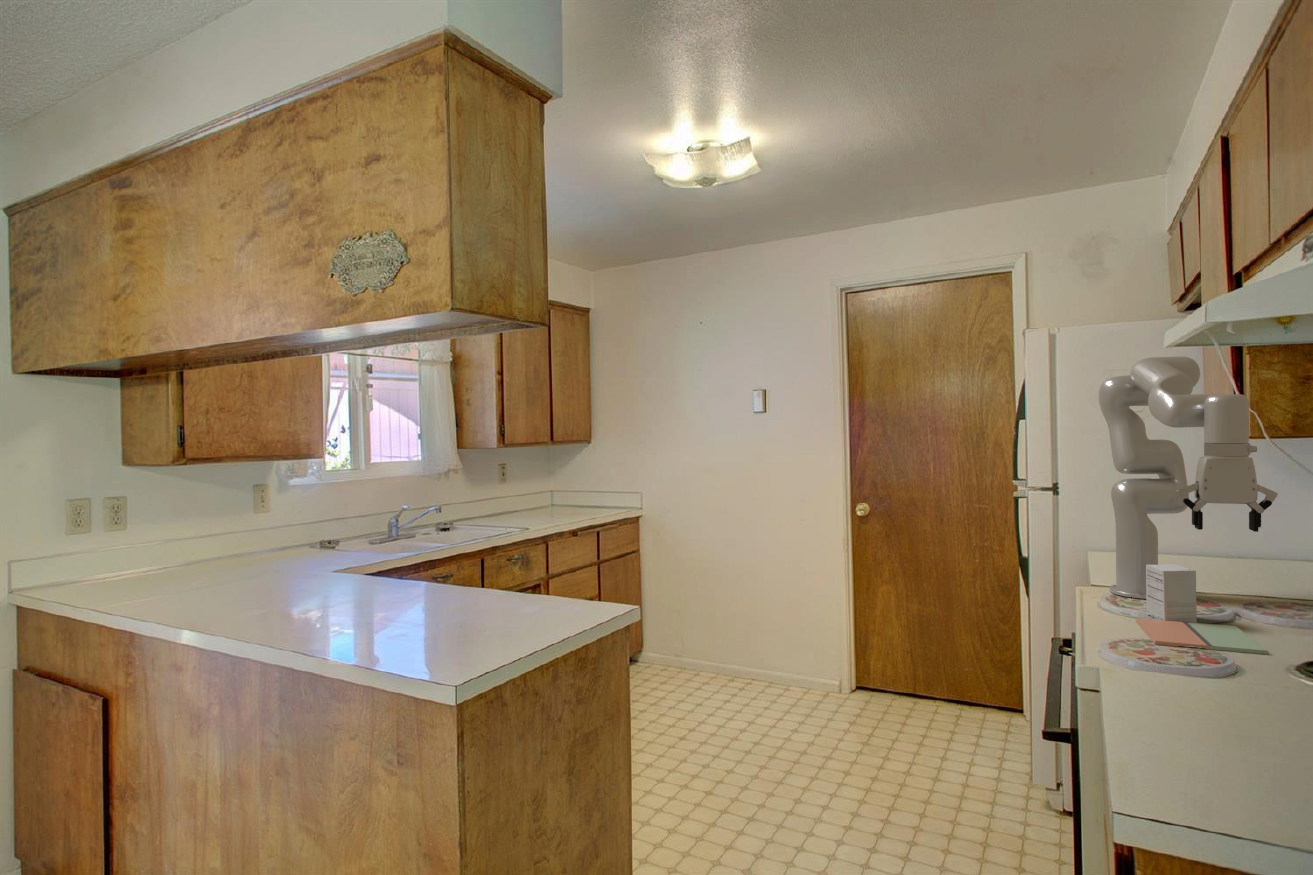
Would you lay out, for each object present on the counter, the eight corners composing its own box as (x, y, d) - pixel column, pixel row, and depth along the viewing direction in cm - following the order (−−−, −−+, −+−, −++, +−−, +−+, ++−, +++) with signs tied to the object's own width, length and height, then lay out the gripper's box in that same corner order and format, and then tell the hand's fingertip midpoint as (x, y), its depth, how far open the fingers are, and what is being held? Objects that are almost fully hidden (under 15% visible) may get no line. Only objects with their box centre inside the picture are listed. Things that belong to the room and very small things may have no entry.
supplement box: (1177, 615, 171) (1177, 563, 171) (1197, 623, 163) (1197, 570, 163) (1145, 614, 172) (1144, 563, 171) (1164, 623, 164) (1163, 570, 164)
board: (1135, 621, 166) (1135, 617, 166) (1235, 629, 159) (1235, 625, 158) (1155, 644, 150) (1155, 640, 150) (1267, 654, 142) (1267, 650, 142)
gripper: (1269, 450, 151) (1269, 528, 152) (1172, 450, 158) (1172, 525, 159) (1284, 452, 144) (1283, 534, 145) (1182, 452, 151) (1182, 530, 152)
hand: (1225, 529), depth 152 cm, fingers open, 9 cm apart
